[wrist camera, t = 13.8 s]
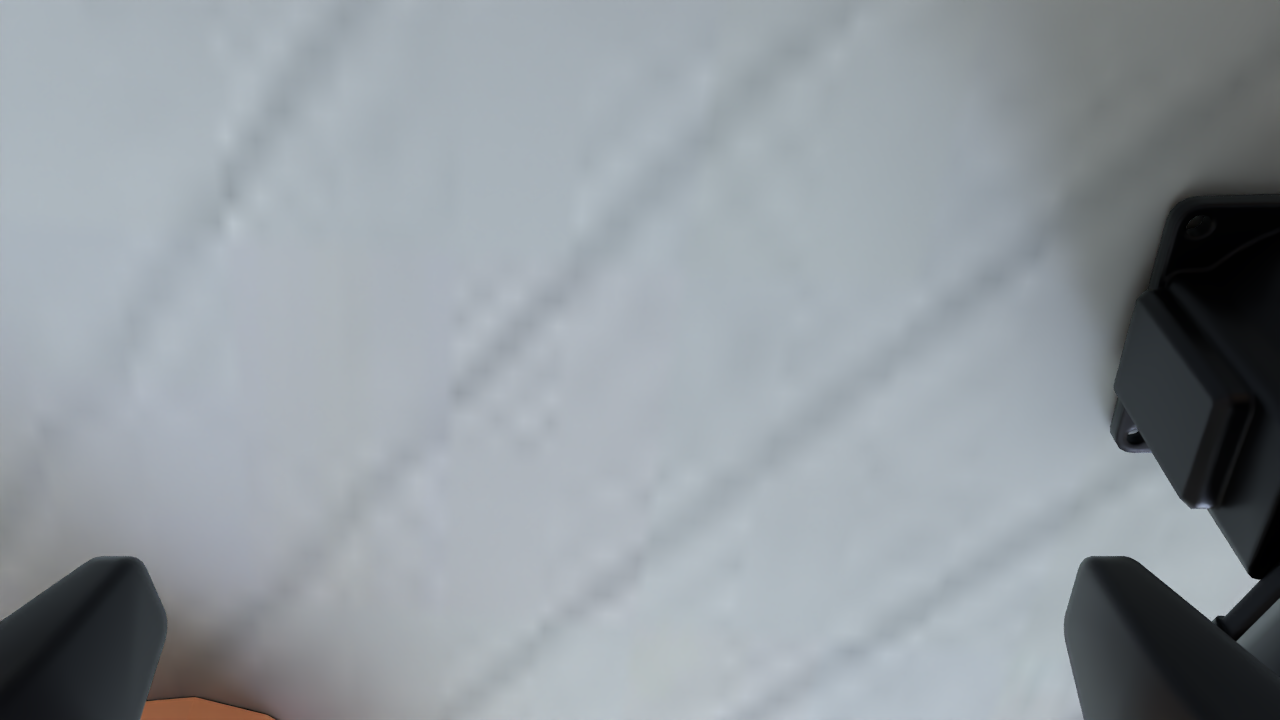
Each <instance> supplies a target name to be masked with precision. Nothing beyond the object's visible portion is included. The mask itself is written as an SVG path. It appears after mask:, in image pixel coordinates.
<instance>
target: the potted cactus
mask: <svg viewBox="0 0 1280 720" xmlns="http://www.w3.org/2000/svg"><path fill="white" fill-rule="evenodd" d="M140 720H275V719H273V718H272V717H270V716H268V715H265V714H261V713H257V712H253V711H249V710H245V709H241V708H237V707H233V706H229V705H225V704H221V703H217V702H213V701H209V700H205V699H201V698H197V697H189V698H177V699H166V700H155V701H146V703H145V706H144V709H143V712H142V715H141V718H140Z"/></svg>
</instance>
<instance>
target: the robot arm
mask: <svg viewBox="0 0 1280 720" xmlns="http://www.w3.org/2000/svg"><path fill="white" fill-rule="evenodd" d="M1201 215H1204V219H1203V220H1202V222H1201V224H1199V225H1198V226H1196V227H1195V228H1191V229H1186V227H1187V225H1188V223H1189V221H1190V220H1192V219H1193V218H1195V217H1197V216H1201ZM1114 391H1115V393H1116V394H1117V396H1118V400H1117V404H1116V407H1115V411H1114V415H1113V418H1112V422H1111V426H1110V433H1111V435H1112V436H1113V438H1114V440H1115V442H1116V443H1117V445H1118V447H1119V448H1120V449H1122V450H1124V451H1125V452H1132V453H1153V455H1154V457H1155V458H1156V460H1157V462H1158V463H1159V465H1160V467H1161V468H1162V470H1163V472H1164V473H1165V475H1166V476H1167V478H1168V480H1169V481H1170V483H1171V485H1172V486H1173V488H1174V490H1175V491H1176V493H1177V495H1178V496H1179V498H1180V499H1181V500H1182V501H1183V502H1184V503H1186V504H1187V505H1188V506H1189V507H1190V508H1191V509H1207V510H1208V511H1209V513H1210V514H1211V516H1212V518H1213V519H1214V521H1215V522H1216V524H1217V525H1218V527H1219V529H1220V530H1221V532H1222V533H1223V535H1224V536H1225V538H1226V540H1227V541H1228V543H1229V544H1230V546H1231V548H1232V549H1233V551H1234V552H1235V554H1236V555H1237V557H1238V559H1239V560H1240V562H1241V563H1242V565H1243V566H1244V568H1245V570H1246V571H1247V573H1248V574H1249V575H1250V576H1251V577H1252V578H1254V579H1259V580H1260V581H1259V582H1258V583H1257V584H1256V585H1255V586H1254V587H1253V588H1252V589H1251V590H1250V591H1249V592H1248V593H1247V594H1246V595H1245V596H1244V598H1243V599H1242V600H1241V601H1240V602H1239V603H1238V604H1237V605H1236V606H1235V607H1234V608H1233V609H1232V610H1231V611H1230V612H1229V613H1228V614H1227V615H1226V616H1217V617H1216V618H1215V619H1214V620H1213V621H1212V622H1211V621H1210V620H1209V619H1208V618H1206V617H1205V616H1204V615H1203V614H1202V613H1200V612H1199V611H1198V610H1197V609H1195V608H1194V607H1193V606H1192V605H1190V604H1189V603H1188V602H1187V601H1186V600H1184V599H1183V598H1182V597H1181V596H1179V595H1178V594H1177V593H1176V592H1174V591H1173V590H1172V589H1171V588H1170V587H1168V586H1167V585H1166V584H1165V583H1163V582H1162V581H1161V580H1160V579H1159V578H1157V577H1156V576H1155V575H1154V574H1152V573H1151V572H1150V571H1149V570H1147V569H1146V568H1145V567H1144V566H1143V565H1141V564H1140V563H1139V562H1137V561H1136V560H1134V559H1132V558H1129V557H1125V556H1091V557H1088V558H1086V559H1084V560H1083V561H1082V563H1081V564H1080V567H1079V569H1078V572H1077V576H1076V579H1075V583H1074V586H1073V589H1072V593H1071V596H1070V600H1069V603H1068V607H1067V610H1066V614H1065V618H1064V635H1065V642H1066V647H1067V651H1068V655H1069V659H1070V663H1071V668H1072V672H1073V676H1074V680H1075V684H1076V688H1077V693H1078V697H1079V701H1080V705H1081V709H1082V714H1083V718H1084V720H1280V194H1268V195H1225V196H1196V197H1191V198H1187V199H1185V200H1183V201H1181V202H1179V203H1178V204H1177V205H1176V206H1175V207H1174V208H1173V209H1172V210H1171V211H1170V213H1169V215H1168V217H1167V220H1166V223H1165V227H1164V231H1163V234H1162V238H1161V242H1160V245H1159V249H1158V253H1157V256H1156V260H1155V264H1154V267H1153V271H1152V275H1151V278H1150V282H1149V286H1148V289H1147V290H1146V291H1144V292H1143V293H1142V295H1141V296H1140V297H1139V298H1138V299H1137V300H1136V304H1135V308H1134V311H1133V315H1132V319H1131V323H1130V326H1129V330H1128V334H1127V338H1126V341H1125V345H1124V349H1123V353H1122V356H1121V360H1120V364H1119V368H1118V371H1117V375H1116V379H1115V383H1114ZM1136 428H1137V429H1138V430H1139V431H1138V432H1136V433H1134V434H1128V433H1129V432H1130V431H1132V430H1133V429H1136ZM166 634H167V616H166V612H165V609H164V607H163V605H162V603H161V600H160V598H159V596H158V593H157V591H156V589H155V587H154V584H153V582H152V580H151V578H150V575H149V573H148V571H147V569H146V567H145V565H144V563H143V562H142V561H140V560H139V559H138V558H135V557H132V556H101V557H96V558H93V559H91V560H89V561H88V562H86V563H84V564H83V565H81V566H80V567H78V568H77V569H76V570H74V571H73V572H71V573H70V574H68V575H67V576H66V577H64V578H63V579H61V580H60V581H58V582H57V583H55V584H54V585H53V586H51V587H50V588H48V589H47V590H45V591H44V592H42V593H41V594H40V595H38V596H37V597H35V598H34V599H32V600H31V601H30V602H28V603H27V604H25V605H24V606H22V607H21V608H19V609H18V610H17V611H15V612H14V613H12V614H11V615H9V616H8V617H6V618H5V619H4V620H2V621H1V622H0V720H140V718H141V715H142V712H143V709H144V706H145V703H146V699H147V696H148V693H149V690H150V687H151V683H152V680H153V677H154V674H155V671H156V668H157V664H158V661H159V658H160V655H161V652H162V649H163V645H164V642H165V638H166Z"/></svg>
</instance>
